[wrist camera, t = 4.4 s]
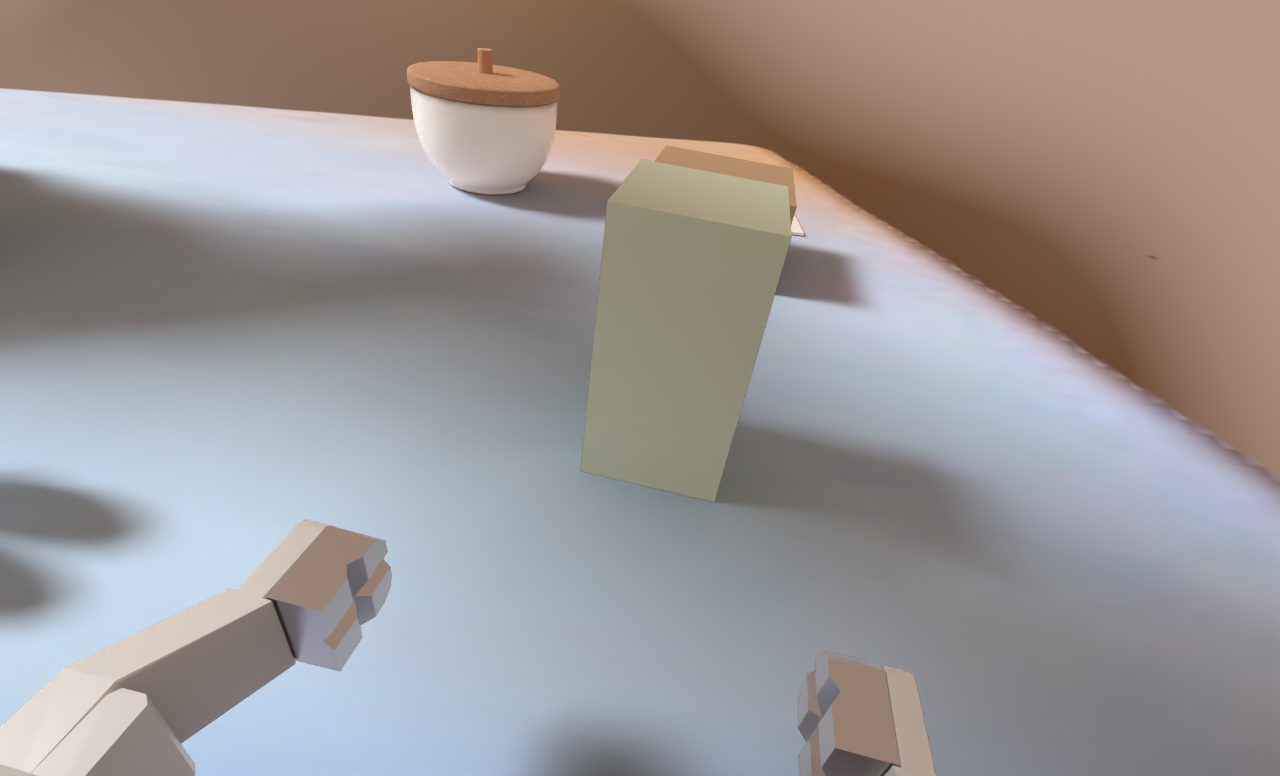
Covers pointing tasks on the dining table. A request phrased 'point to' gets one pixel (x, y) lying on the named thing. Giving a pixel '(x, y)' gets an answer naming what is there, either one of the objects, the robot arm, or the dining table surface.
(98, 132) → the dining table surface
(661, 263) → the sage brick
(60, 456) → the dining table surface
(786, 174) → the brown and teal box
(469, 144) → the lidded jar
